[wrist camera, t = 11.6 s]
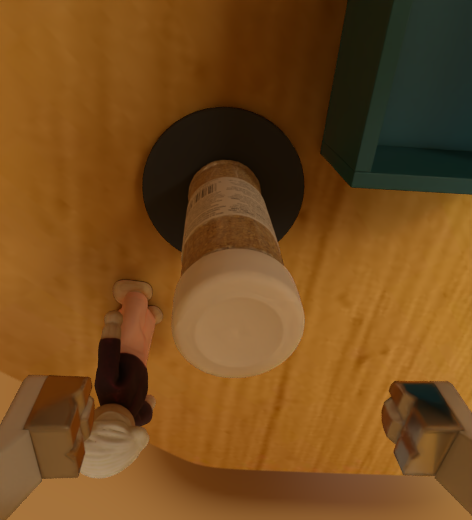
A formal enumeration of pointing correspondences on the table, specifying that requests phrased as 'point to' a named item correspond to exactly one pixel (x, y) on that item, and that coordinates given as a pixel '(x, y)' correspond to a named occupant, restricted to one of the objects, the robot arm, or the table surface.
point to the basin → (403, 97)
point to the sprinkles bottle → (233, 279)
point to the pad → (214, 149)
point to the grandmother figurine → (122, 383)
